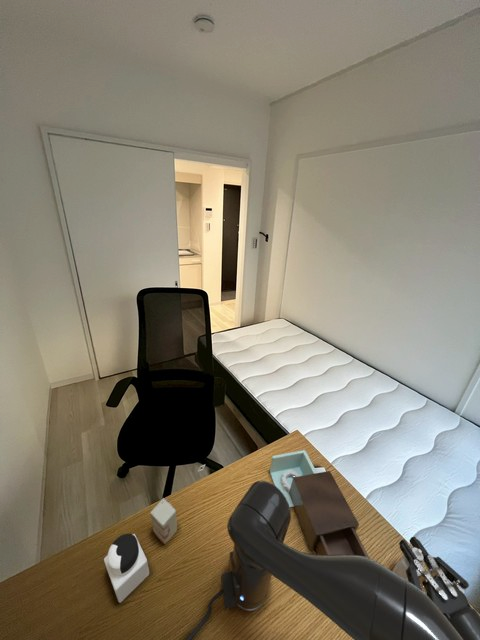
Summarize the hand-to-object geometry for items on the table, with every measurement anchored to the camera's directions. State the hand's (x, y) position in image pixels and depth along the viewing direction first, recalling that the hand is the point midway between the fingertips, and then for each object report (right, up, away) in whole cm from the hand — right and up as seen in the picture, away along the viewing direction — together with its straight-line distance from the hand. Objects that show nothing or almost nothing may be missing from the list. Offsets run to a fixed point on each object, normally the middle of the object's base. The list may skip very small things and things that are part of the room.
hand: (406, 540), depth 60 cm
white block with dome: (-68, -7, -2) cm, 69 cm away
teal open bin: (-24, +1, +20) cm, 32 cm away
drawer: (-16, -8, +2) cm, 18 cm away
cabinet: (-18, -4, +12) cm, 22 cm away
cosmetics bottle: (-62, -3, +6) cm, 62 cm away
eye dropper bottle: (0, -10, +2) cm, 11 cm away
